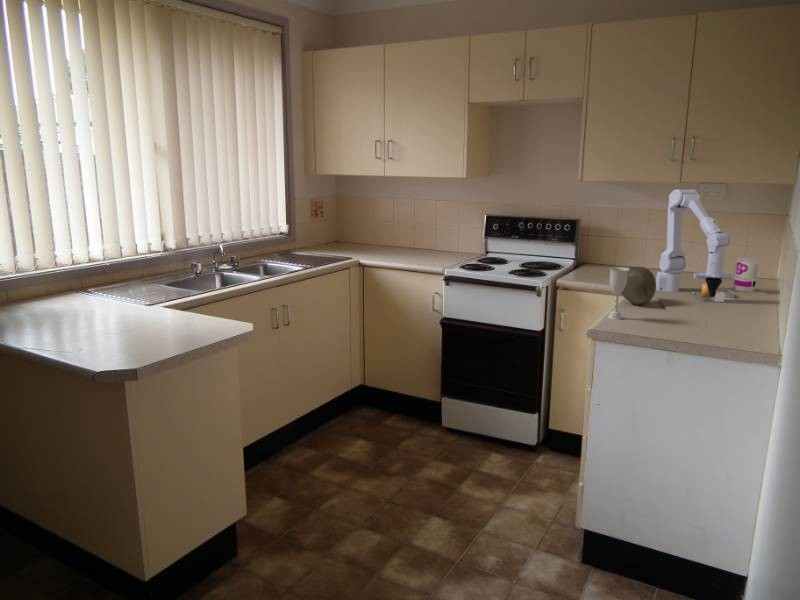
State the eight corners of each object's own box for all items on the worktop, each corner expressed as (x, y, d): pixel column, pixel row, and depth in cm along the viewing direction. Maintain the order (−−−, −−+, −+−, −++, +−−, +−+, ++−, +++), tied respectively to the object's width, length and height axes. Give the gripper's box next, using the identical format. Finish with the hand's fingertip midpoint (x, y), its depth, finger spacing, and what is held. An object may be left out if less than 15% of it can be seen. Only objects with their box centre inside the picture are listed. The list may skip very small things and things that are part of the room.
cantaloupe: (656, 302, 253) (660, 265, 250) (650, 309, 241) (654, 271, 238) (620, 298, 260) (623, 262, 257) (612, 305, 248) (616, 267, 245)
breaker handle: (715, 301, 251) (716, 292, 250) (712, 299, 255) (713, 290, 254) (723, 301, 250) (724, 293, 250) (720, 299, 254) (721, 291, 253)
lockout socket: (716, 297, 260) (716, 292, 259) (711, 293, 266) (712, 289, 266) (734, 298, 258) (734, 293, 258) (728, 294, 265) (729, 290, 264)
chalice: (609, 314, 233) (613, 266, 229) (627, 317, 229) (632, 268, 225) (601, 318, 228) (606, 269, 224) (620, 321, 224) (625, 271, 220)
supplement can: (743, 294, 270) (747, 259, 267) (728, 290, 278) (732, 256, 275) (758, 293, 273) (763, 259, 269) (743, 289, 280) (748, 256, 277)
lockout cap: (702, 296, 260) (703, 284, 259) (700, 295, 264) (701, 283, 263) (711, 297, 260) (713, 285, 258) (709, 295, 263) (710, 283, 262)
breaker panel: (700, 304, 251) (700, 300, 251) (689, 294, 269) (689, 291, 268) (743, 306, 248) (744, 302, 248) (729, 296, 266) (730, 293, 265)
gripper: (698, 263, 247) (694, 297, 250) (738, 265, 244) (734, 299, 247) (693, 261, 254) (690, 294, 257) (732, 262, 251) (728, 295, 254)
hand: (711, 296), depth 253 cm, fingers closed
